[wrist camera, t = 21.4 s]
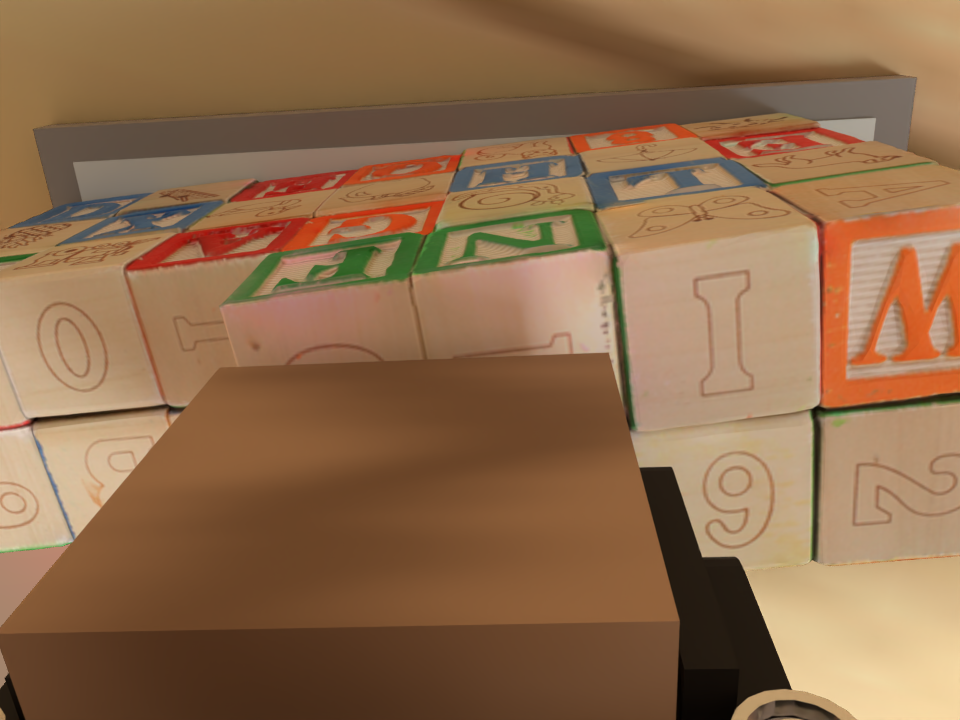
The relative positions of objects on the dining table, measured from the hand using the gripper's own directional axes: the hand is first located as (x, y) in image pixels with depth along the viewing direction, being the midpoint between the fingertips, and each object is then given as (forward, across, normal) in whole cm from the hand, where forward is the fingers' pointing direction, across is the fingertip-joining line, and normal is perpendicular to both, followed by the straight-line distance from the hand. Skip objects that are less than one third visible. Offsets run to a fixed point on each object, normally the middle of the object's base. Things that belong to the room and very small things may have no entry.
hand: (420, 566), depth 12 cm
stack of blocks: (+15, +1, -1) cm, 15 cm away
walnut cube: (+1, 0, 0) cm, 1 cm away
